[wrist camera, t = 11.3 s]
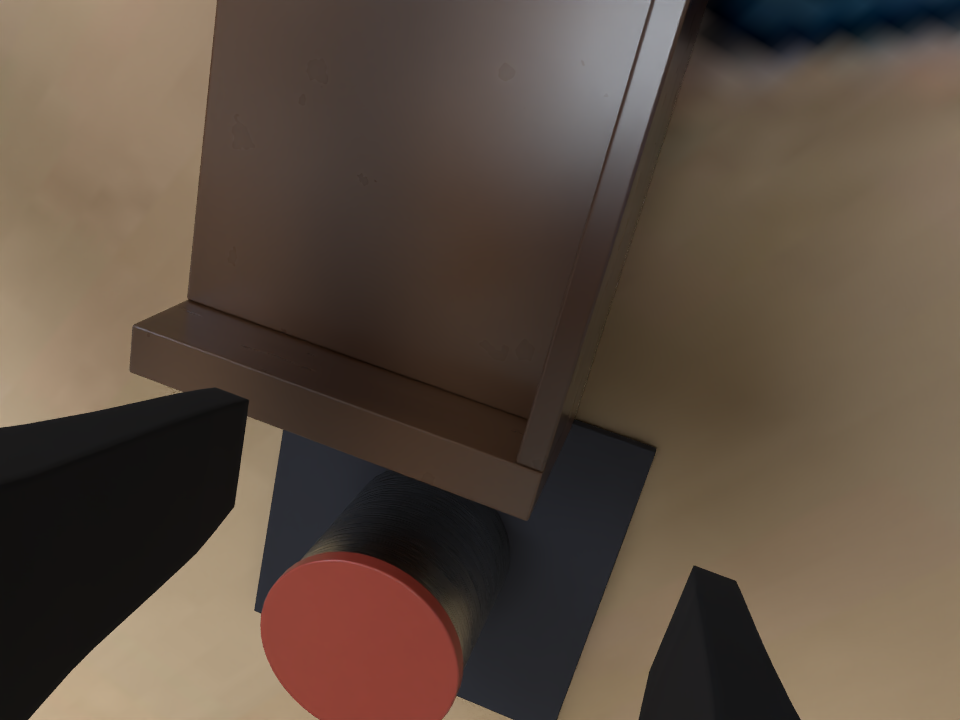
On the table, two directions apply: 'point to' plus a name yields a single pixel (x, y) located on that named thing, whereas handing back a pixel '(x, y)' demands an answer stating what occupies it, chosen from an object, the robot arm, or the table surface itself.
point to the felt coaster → (532, 567)
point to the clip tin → (387, 603)
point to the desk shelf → (420, 222)
